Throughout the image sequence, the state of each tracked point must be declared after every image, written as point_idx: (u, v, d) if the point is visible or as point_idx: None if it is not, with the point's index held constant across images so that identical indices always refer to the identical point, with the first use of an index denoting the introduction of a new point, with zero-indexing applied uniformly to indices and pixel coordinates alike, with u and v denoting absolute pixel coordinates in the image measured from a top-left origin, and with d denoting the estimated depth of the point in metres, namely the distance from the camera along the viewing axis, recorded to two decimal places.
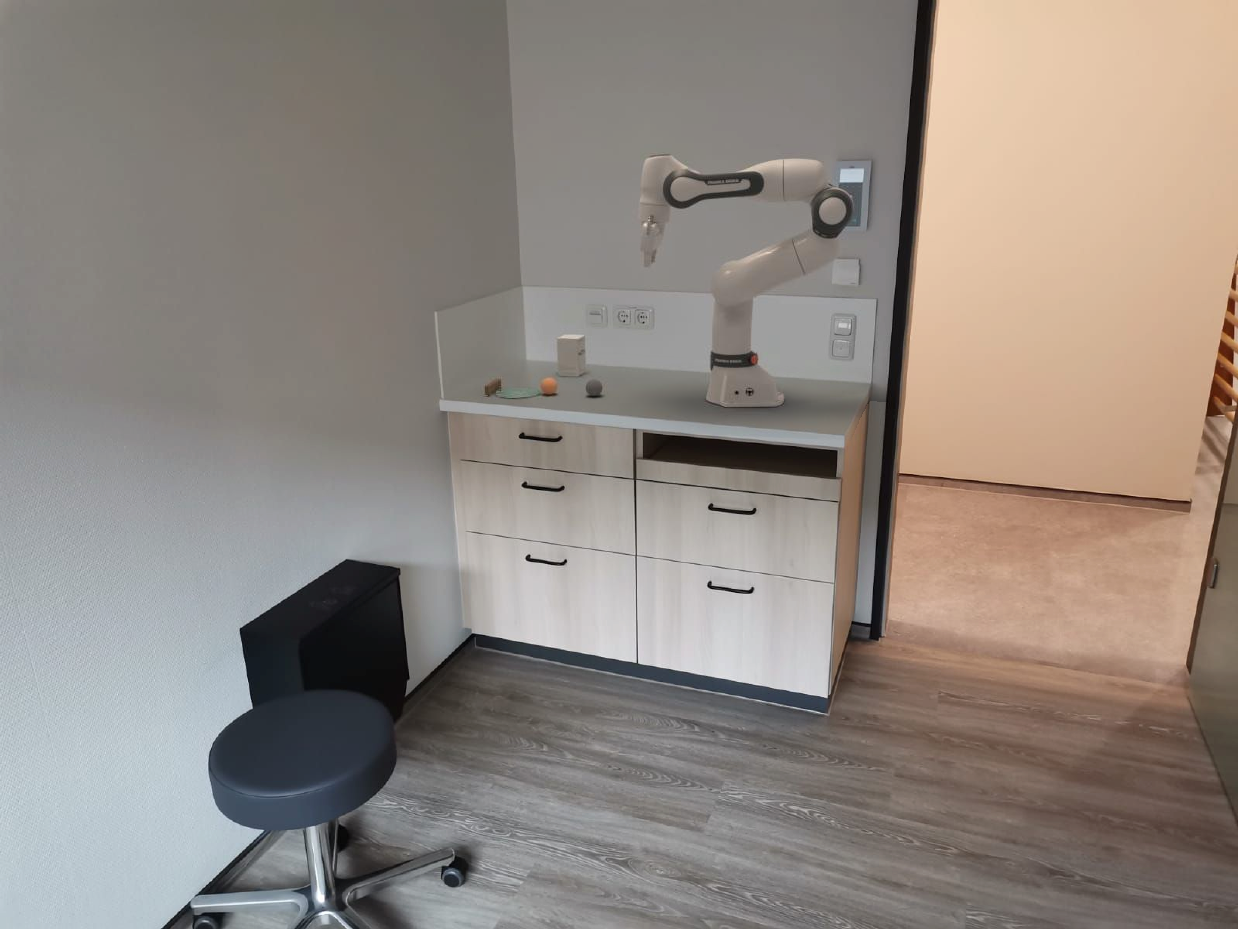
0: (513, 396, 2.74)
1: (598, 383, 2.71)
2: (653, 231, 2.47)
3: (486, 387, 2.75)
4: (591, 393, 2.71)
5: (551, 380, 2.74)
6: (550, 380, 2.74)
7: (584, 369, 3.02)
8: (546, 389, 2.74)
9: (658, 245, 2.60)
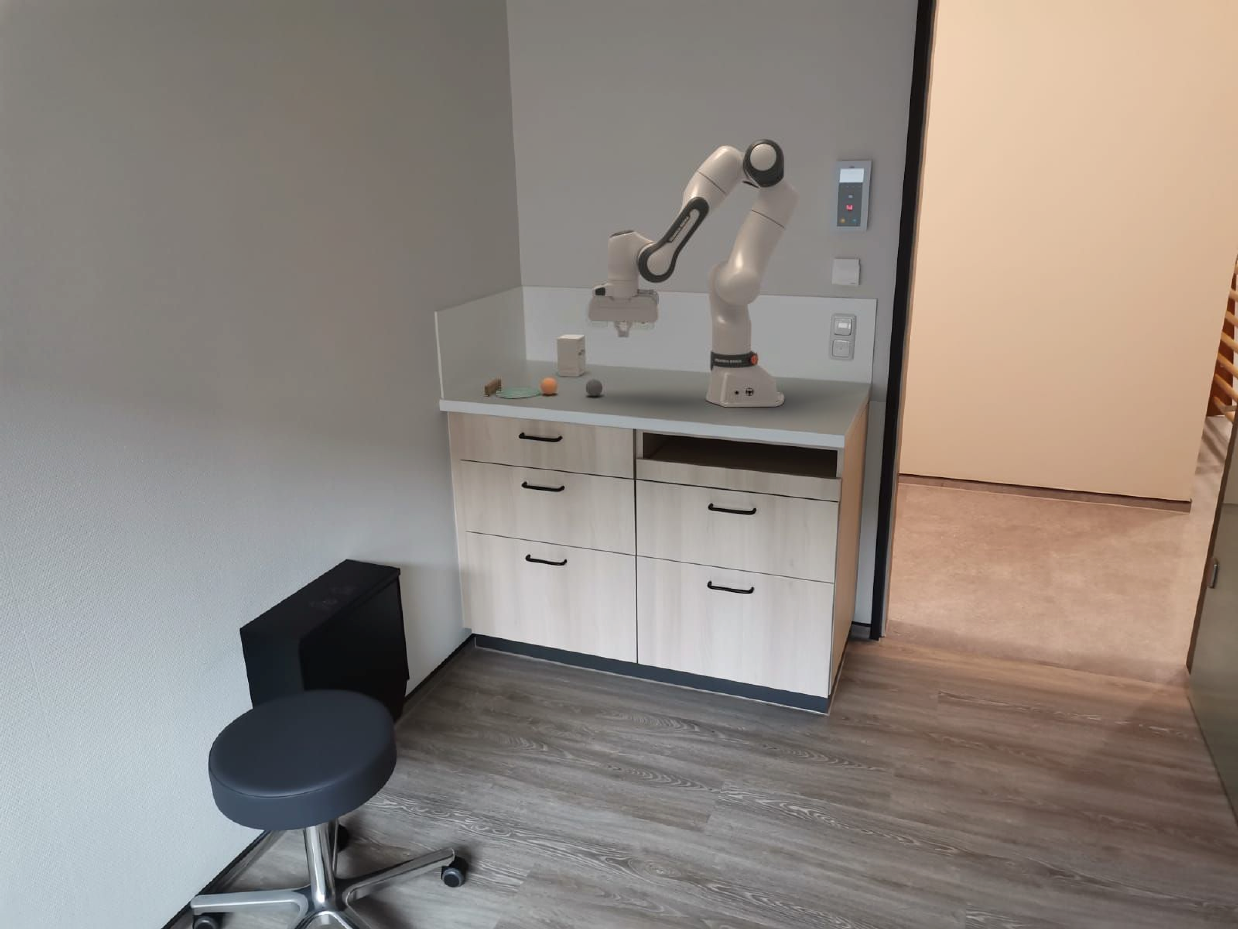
0: (513, 396, 2.74)
1: (598, 383, 2.71)
2: None
3: (486, 387, 2.75)
4: (591, 393, 2.71)
5: (551, 380, 2.74)
6: (550, 380, 2.74)
7: (584, 369, 3.02)
8: (546, 389, 2.74)
9: None
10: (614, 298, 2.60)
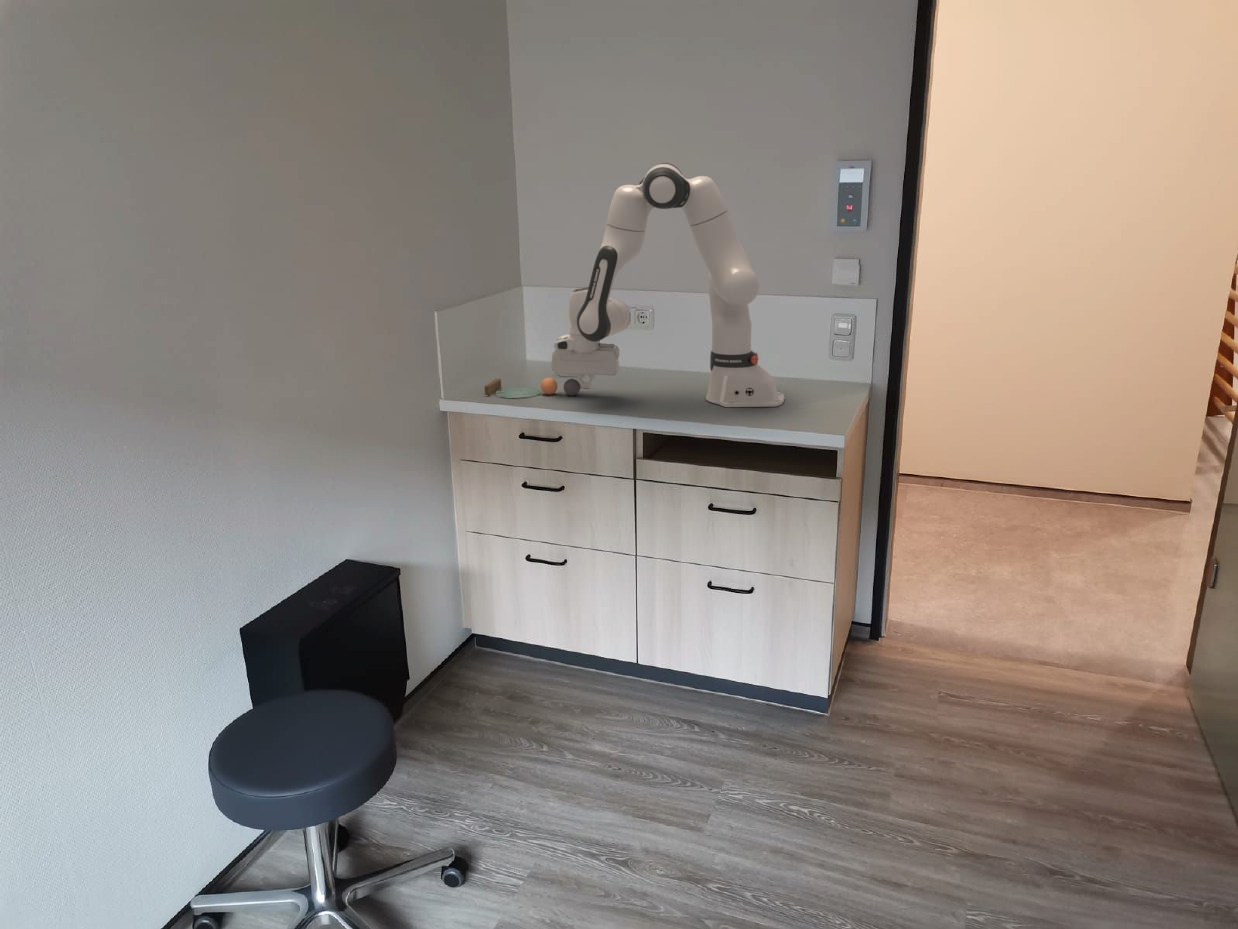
0: (513, 396, 2.74)
1: None
2: None
3: (486, 387, 2.75)
4: (573, 386, 2.72)
5: (551, 380, 2.74)
6: (550, 380, 2.74)
7: None
8: (546, 389, 2.74)
9: None
10: (576, 352, 2.68)
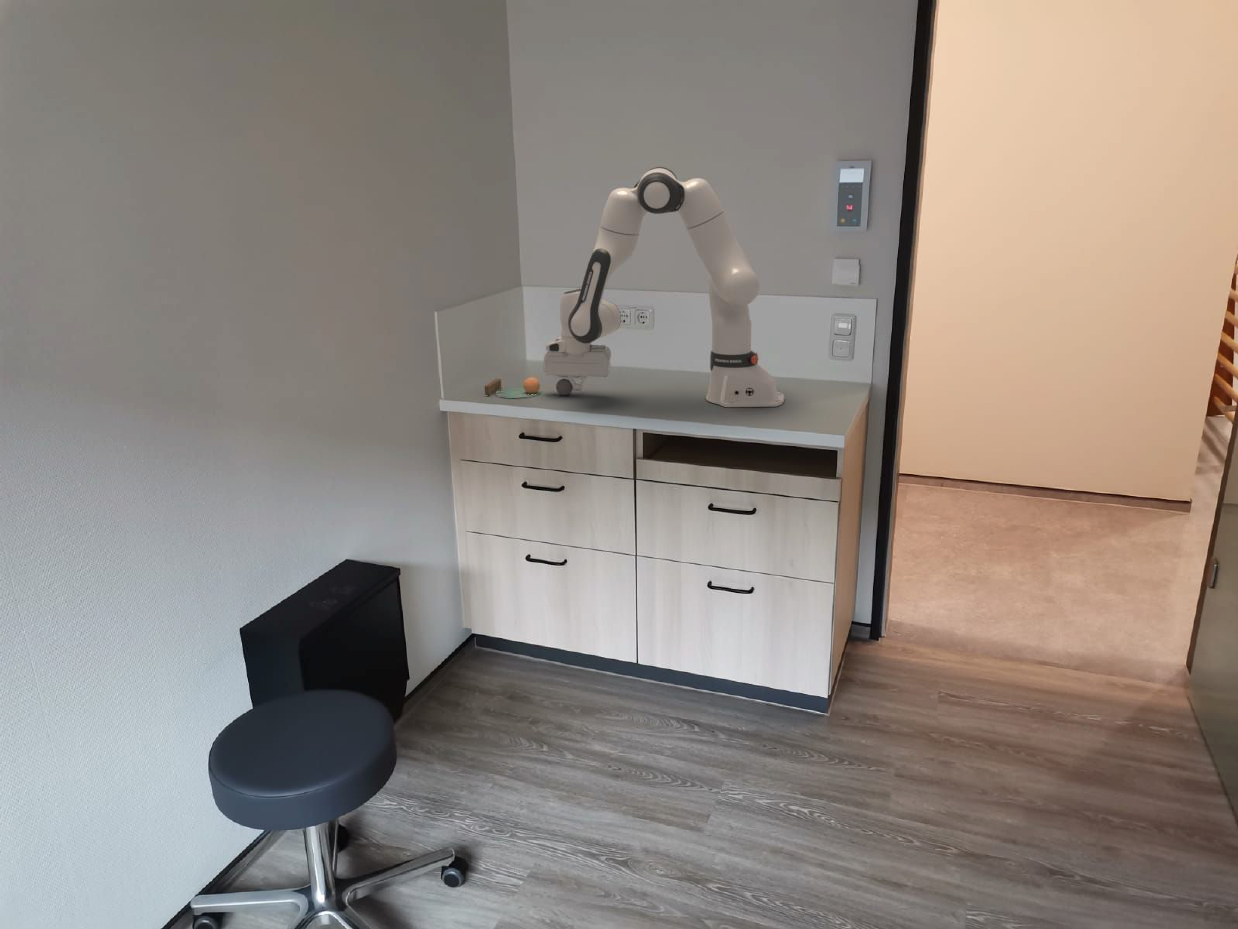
0: (513, 396, 2.74)
1: (559, 393, 2.75)
2: None
3: (486, 387, 2.75)
4: (562, 384, 2.72)
5: None
6: None
7: None
8: (530, 387, 2.75)
9: None
10: (567, 353, 2.69)
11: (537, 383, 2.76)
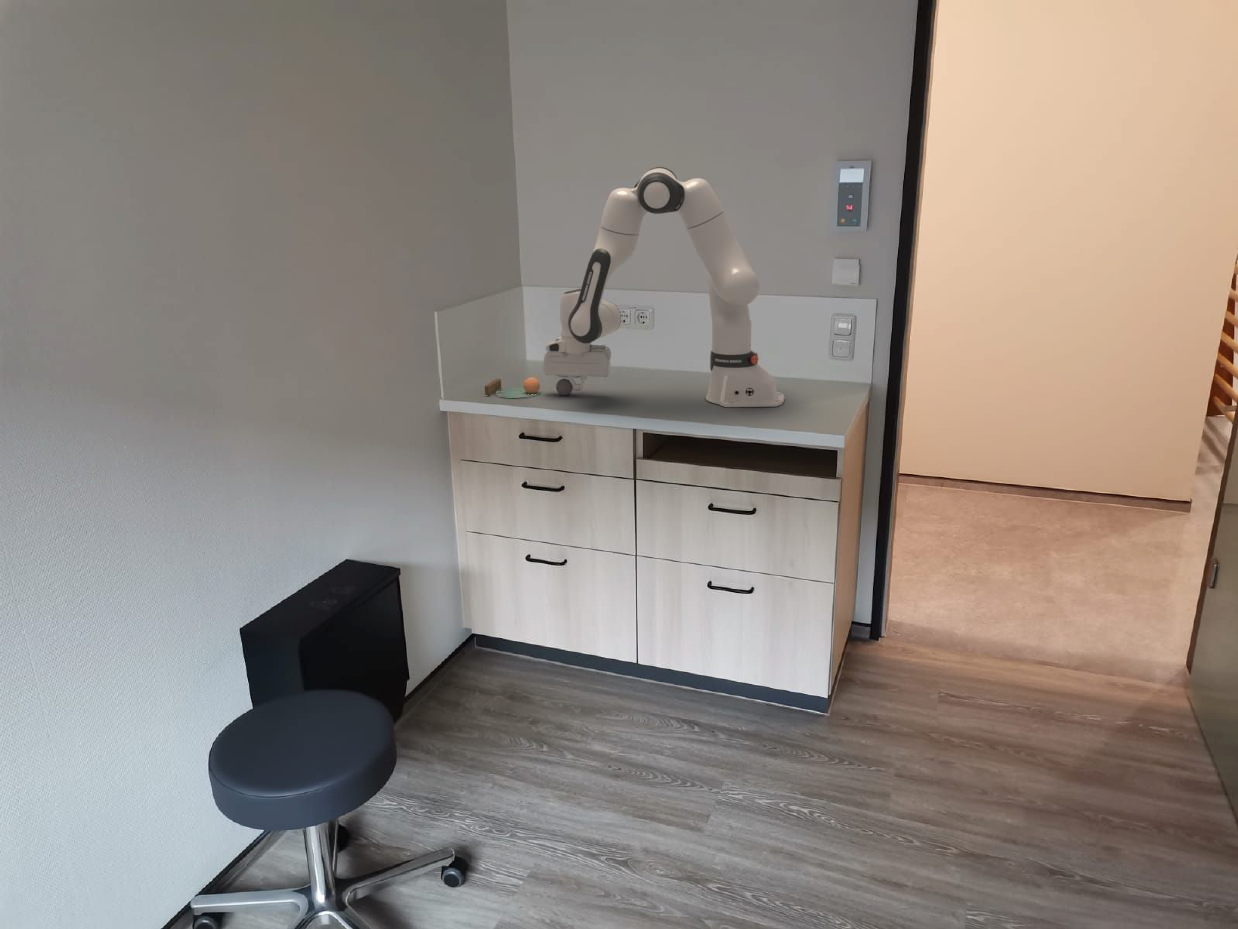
0: (513, 396, 2.74)
1: (559, 393, 2.75)
2: None
3: (486, 387, 2.75)
4: (562, 384, 2.72)
5: None
6: None
7: None
8: (530, 387, 2.75)
9: None
10: (567, 353, 2.69)
11: (537, 383, 2.76)
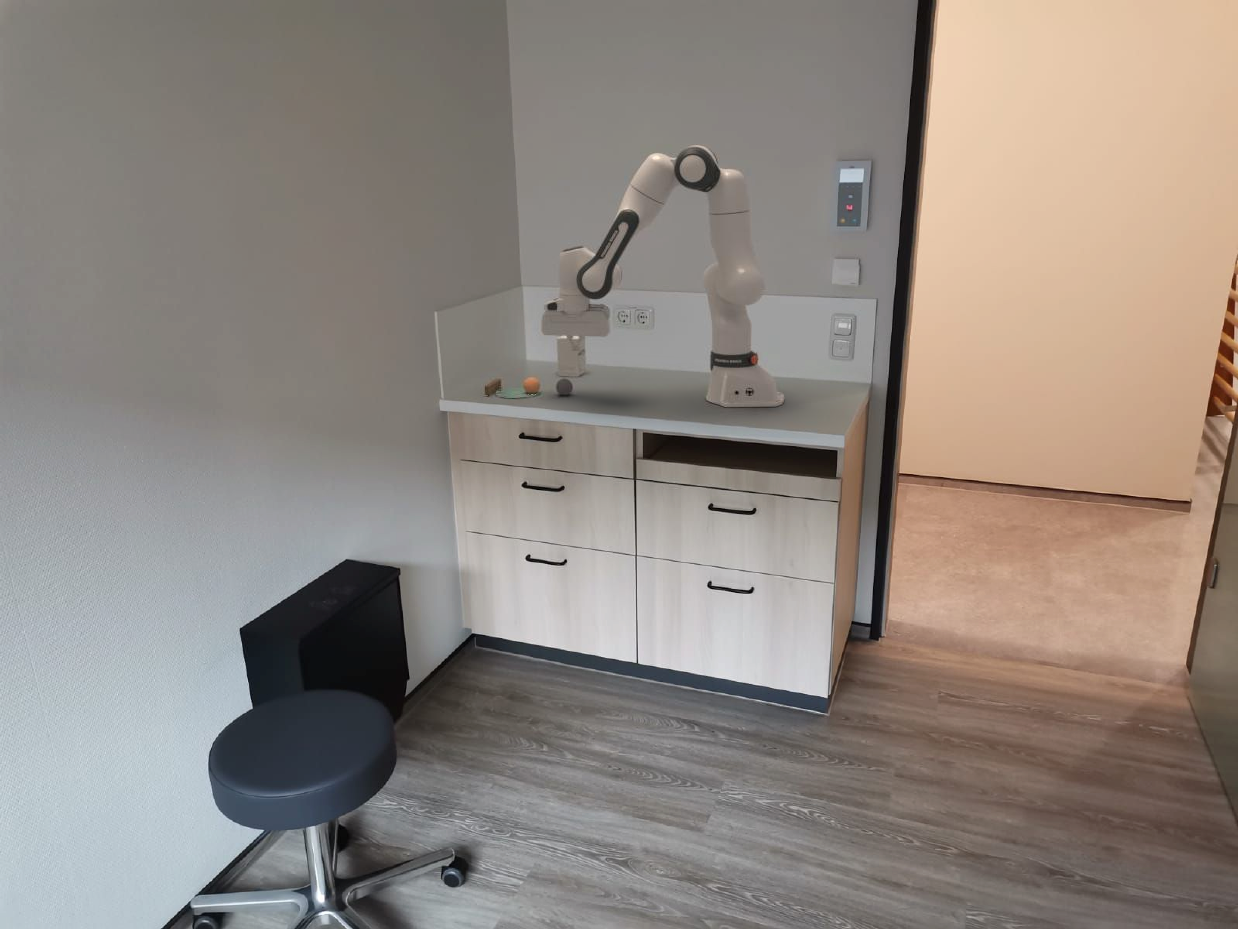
0: (513, 396, 2.74)
1: (559, 393, 2.75)
2: None
3: (486, 387, 2.75)
4: (562, 384, 2.72)
5: None
6: None
7: (584, 369, 3.02)
8: (530, 387, 2.75)
9: None
10: (566, 313, 2.65)
11: (537, 383, 2.76)
